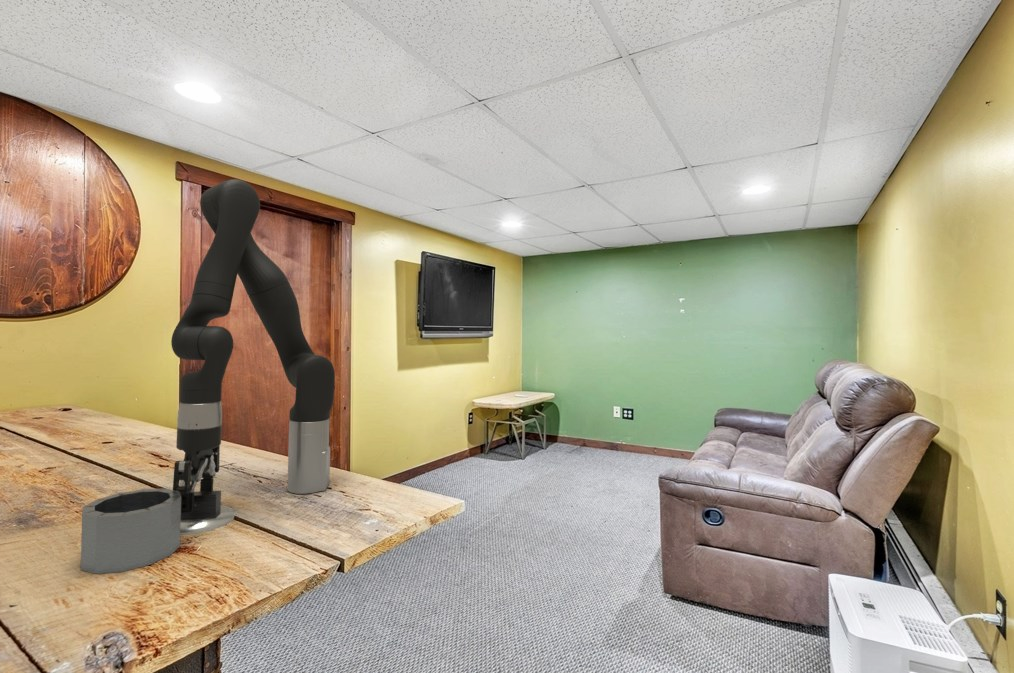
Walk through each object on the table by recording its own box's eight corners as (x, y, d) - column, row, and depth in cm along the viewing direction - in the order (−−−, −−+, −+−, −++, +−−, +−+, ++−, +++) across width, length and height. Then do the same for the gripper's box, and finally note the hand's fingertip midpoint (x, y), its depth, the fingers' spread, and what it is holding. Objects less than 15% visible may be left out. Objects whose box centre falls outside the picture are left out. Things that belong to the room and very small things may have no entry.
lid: (243, 509, 100) (243, 482, 100) (220, 534, 88) (221, 503, 88) (179, 512, 97) (180, 484, 97) (146, 538, 85) (147, 506, 85)
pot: (192, 534, 86) (193, 487, 86) (154, 569, 74) (156, 514, 74) (112, 539, 84) (114, 490, 84) (59, 576, 71) (61, 518, 71)
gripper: (204, 431, 86) (201, 517, 86) (234, 417, 100) (231, 491, 100) (159, 431, 85) (156, 518, 85) (196, 417, 99) (193, 492, 99)
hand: (196, 503), depth 92 cm, fingers open, 8 cm apart
